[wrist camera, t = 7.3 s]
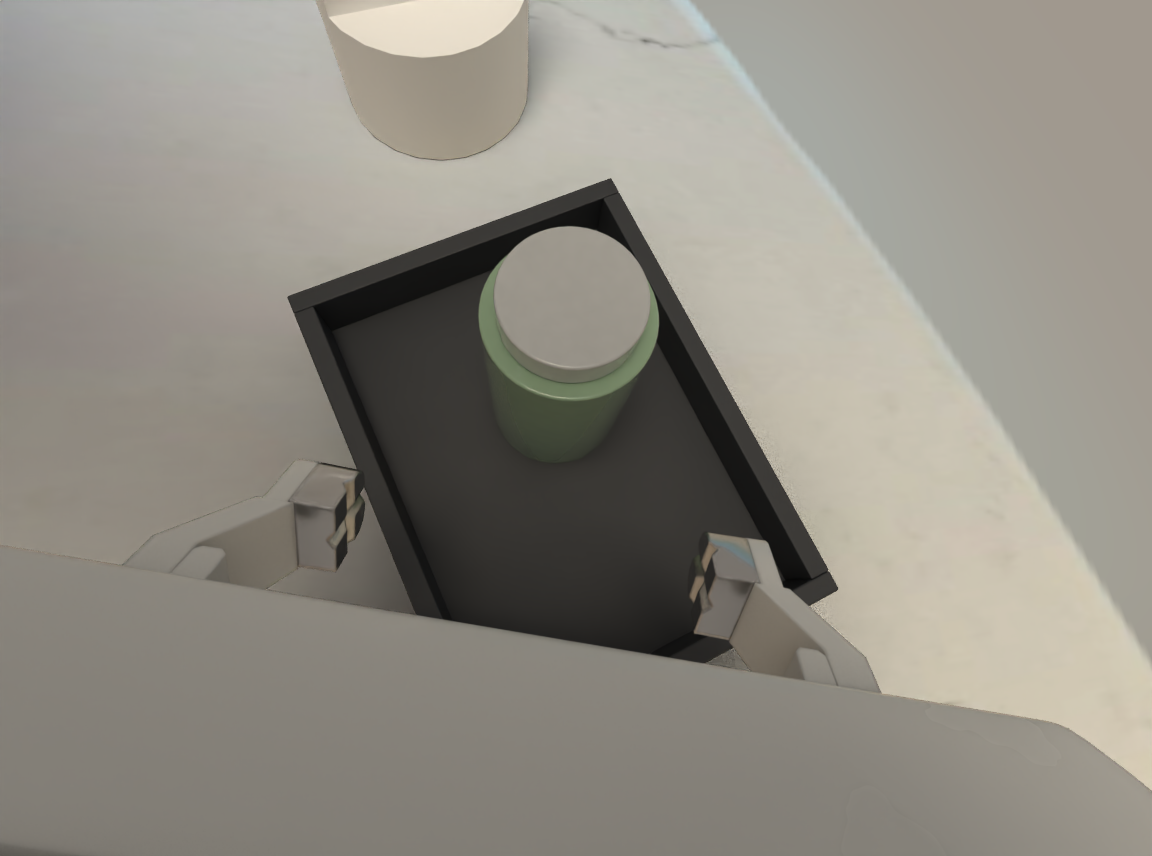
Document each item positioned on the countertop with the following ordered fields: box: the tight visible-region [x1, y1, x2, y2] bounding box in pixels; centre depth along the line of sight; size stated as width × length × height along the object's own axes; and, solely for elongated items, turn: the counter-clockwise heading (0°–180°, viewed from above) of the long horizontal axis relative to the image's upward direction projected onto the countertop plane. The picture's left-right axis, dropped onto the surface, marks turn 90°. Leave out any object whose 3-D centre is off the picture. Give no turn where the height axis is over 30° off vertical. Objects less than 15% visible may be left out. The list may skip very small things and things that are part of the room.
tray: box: [288, 178, 838, 663], centre depth 25 cm, size 20×15×3 cm
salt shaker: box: [478, 226, 659, 463], centre depth 22 cm, size 5×5×10 cm
